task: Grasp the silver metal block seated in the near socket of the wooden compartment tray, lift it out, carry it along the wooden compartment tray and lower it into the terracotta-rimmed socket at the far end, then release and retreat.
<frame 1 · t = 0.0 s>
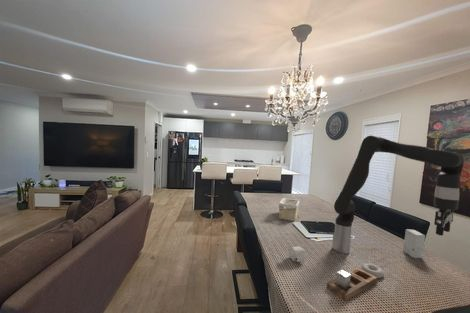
hand: (442, 233, 91), 29 cm above the table, fingers open, 8 cm apart
silver metal block: (342, 290, 93), resting on wooden compartment tray
elephant figurine: (296, 260, 118), on the table
wooden compartment tray: (352, 286, 98), on the table
donut: (372, 273, 109), on the table
skincare box: (412, 255, 130), on the table
storage basket: (288, 216, 192), on the table
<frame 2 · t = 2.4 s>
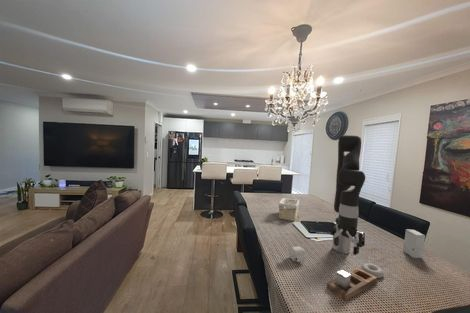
hand: (345, 249, 92), 20 cm above the table, fingers open, 8 cm apart
nothing on the table moved.
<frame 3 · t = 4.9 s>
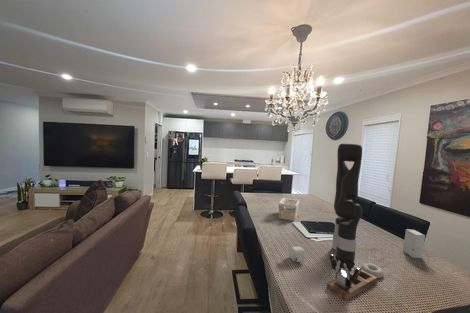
hand: (343, 282, 93), 4 cm above the table, fingers closed on silver metal block, 4 cm apart
silver metal block: (342, 290, 93), point 1 cm above the table, touching gripper, wooden compartment tray
everything else where it was.
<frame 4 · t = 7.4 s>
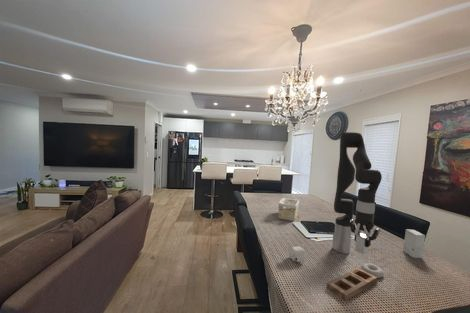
hand: (362, 244, 100), 19 cm above the table, fingers closed on silver metal block, 4 cm apart
silver metal block: (361, 251, 101), point 15 cm above the table, touching gripper
everything else where it was.
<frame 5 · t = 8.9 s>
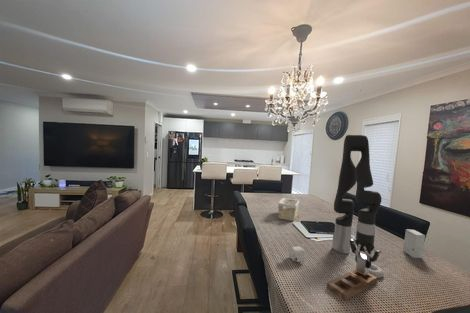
hand: (362, 265, 101), 8 cm above the table, fingers closed on silver metal block, 4 cm apart
silver metal block: (362, 272, 101), point 5 cm above the table, touching gripper
everything else where it was.
when the fingers open (6 cm above the table, at t = 10.1 s): silver metal block drops 1 cm, resting on wooden compartment tray.
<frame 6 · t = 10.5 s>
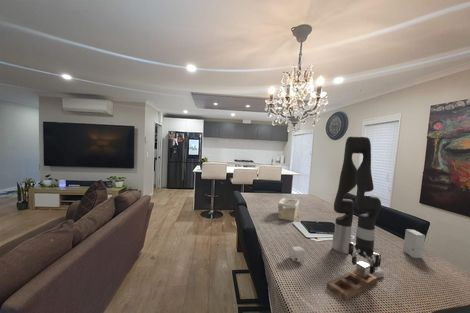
hand: (362, 268, 101), 6 cm above the table, fingers open, 7 cm apart
silver metal block: (361, 279, 102), point 1 cm above the table, touching wooden compartment tray
everything else where it was.
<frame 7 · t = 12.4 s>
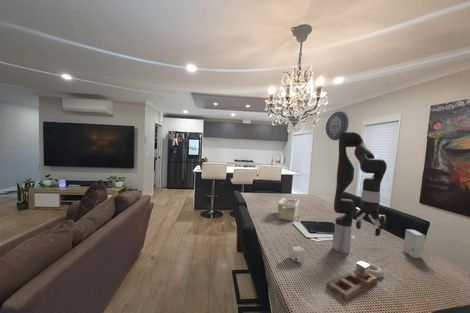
hand: (367, 232, 101), 24 cm above the table, fingers open, 8 cm apart
nothing on the table moved.
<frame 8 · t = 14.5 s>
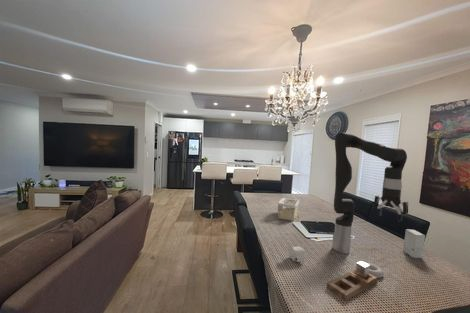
hand: (389, 218, 106), 30 cm above the table, fingers open, 8 cm apart
nothing on the table moved.
at the end: silver metal block 0.1 cm from the target spot on the wooden compartment tray, point 0.6 cm above the wooden compartment tray's base; silver metal block tilted 0°; the gripper is holding nothing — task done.
